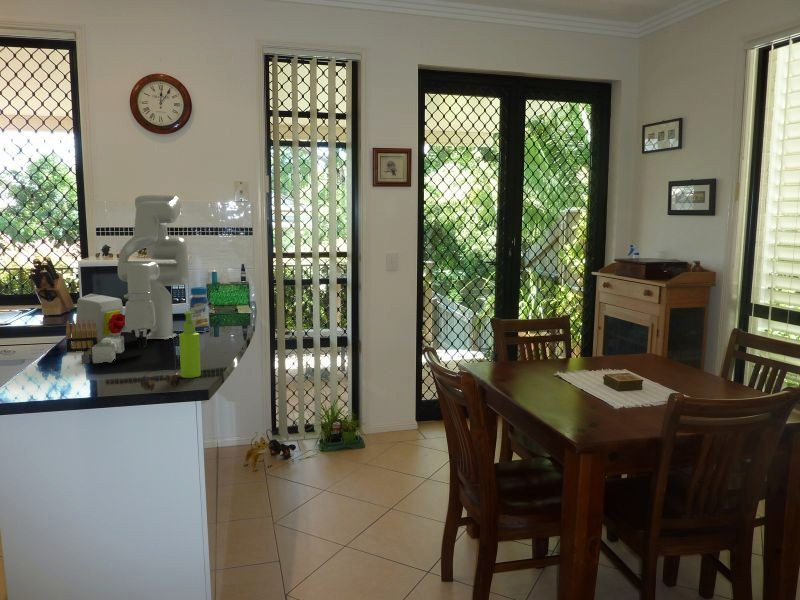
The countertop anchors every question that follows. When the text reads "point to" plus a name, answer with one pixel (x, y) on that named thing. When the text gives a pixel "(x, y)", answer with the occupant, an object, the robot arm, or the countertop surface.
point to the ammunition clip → (80, 336)
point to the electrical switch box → (101, 314)
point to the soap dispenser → (189, 349)
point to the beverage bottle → (200, 308)
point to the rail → (104, 351)
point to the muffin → (108, 341)
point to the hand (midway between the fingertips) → (142, 347)
